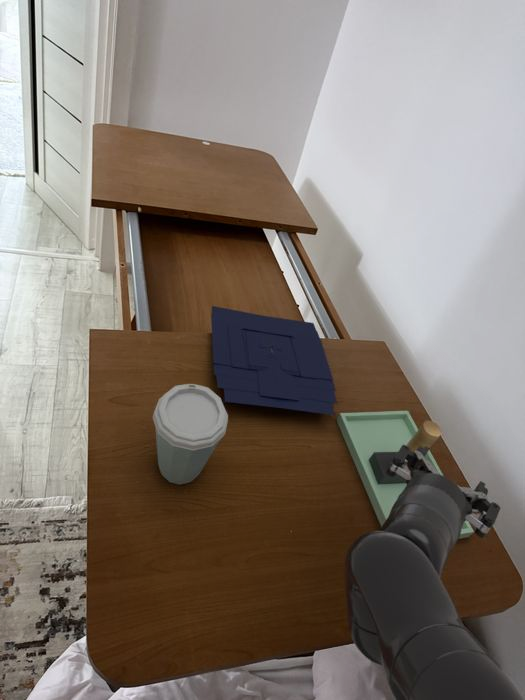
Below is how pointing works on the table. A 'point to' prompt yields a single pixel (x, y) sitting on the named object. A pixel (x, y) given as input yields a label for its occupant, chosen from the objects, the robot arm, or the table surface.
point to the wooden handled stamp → (384, 459)
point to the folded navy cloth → (271, 362)
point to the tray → (381, 436)
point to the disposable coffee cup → (187, 430)
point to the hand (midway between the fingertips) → (451, 469)
